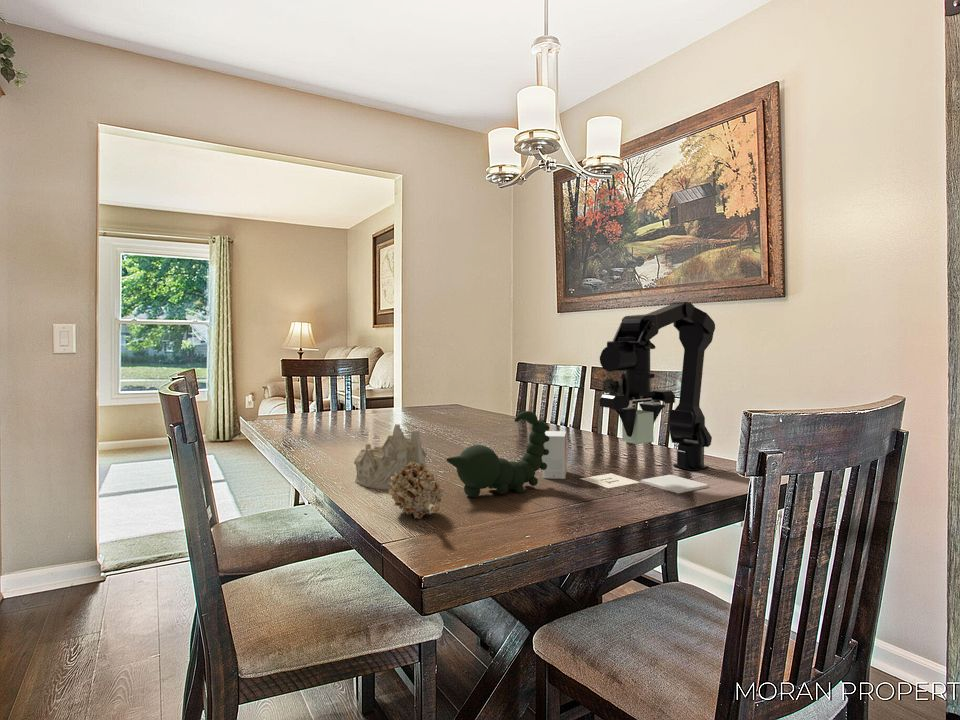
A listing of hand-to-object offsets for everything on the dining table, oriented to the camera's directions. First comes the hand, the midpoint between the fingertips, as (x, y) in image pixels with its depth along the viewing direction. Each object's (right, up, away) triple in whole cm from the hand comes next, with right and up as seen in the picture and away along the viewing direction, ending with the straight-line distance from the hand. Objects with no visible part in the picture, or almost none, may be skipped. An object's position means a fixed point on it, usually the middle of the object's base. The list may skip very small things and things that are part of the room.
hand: (637, 435), depth 133 cm
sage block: (0, -1, 0) cm, 1 cm away
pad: (+8, -11, -2) cm, 14 cm away
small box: (-19, -11, +8) cm, 23 cm away
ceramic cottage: (-58, -12, +4) cm, 59 cm away
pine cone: (-48, -13, -25) cm, 56 cm away
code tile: (-6, -11, +2) cm, 13 cm away
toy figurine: (-33, -12, -7) cm, 36 cm away
